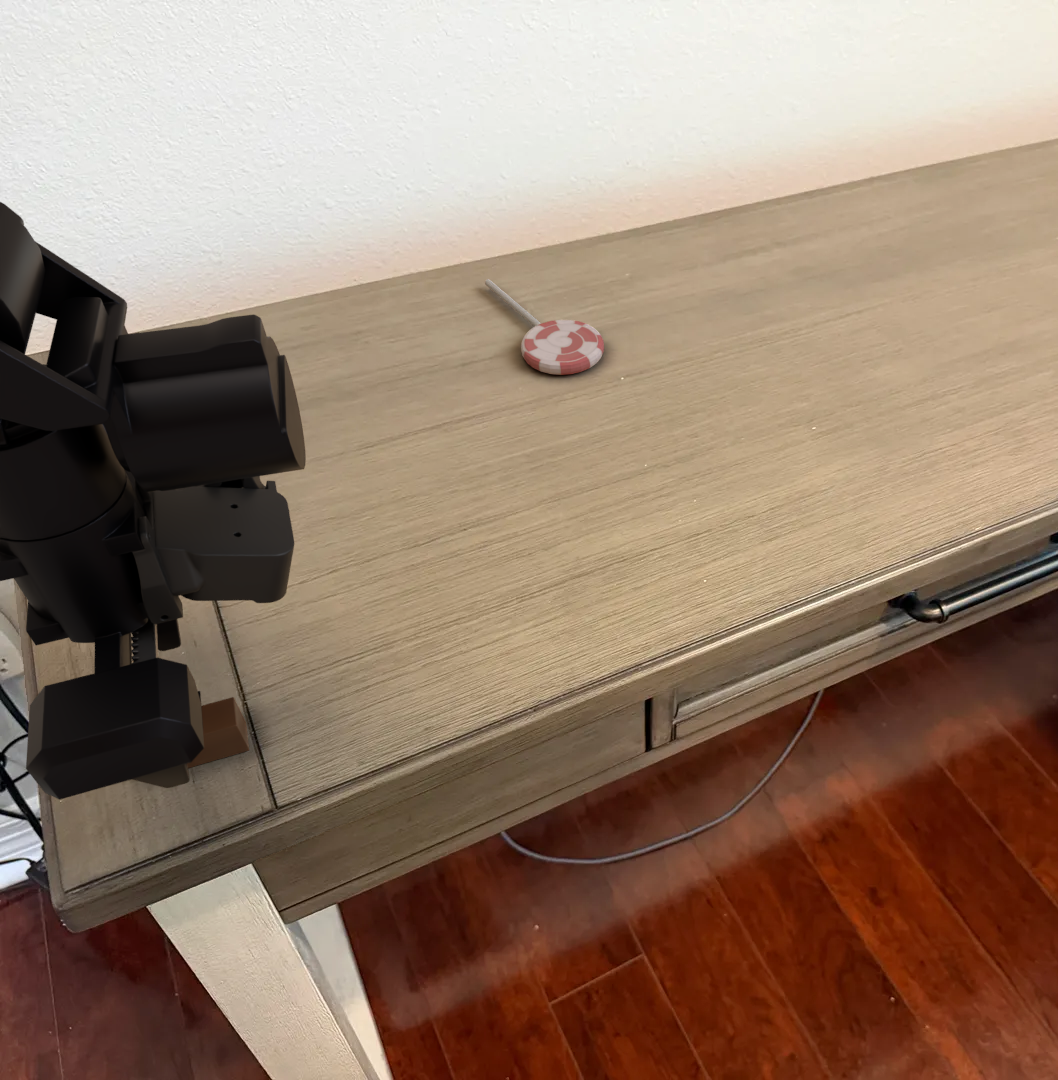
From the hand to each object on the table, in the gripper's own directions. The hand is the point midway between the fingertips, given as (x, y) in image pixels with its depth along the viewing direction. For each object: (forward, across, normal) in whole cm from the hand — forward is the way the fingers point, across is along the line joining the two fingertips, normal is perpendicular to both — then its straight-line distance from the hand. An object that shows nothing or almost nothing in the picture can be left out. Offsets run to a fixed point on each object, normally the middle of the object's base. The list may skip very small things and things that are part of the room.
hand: (174, 711), depth 55 cm
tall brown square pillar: (+3, -1, 0) cm, 3 cm away
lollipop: (+3, +32, -28) cm, 43 cm away
